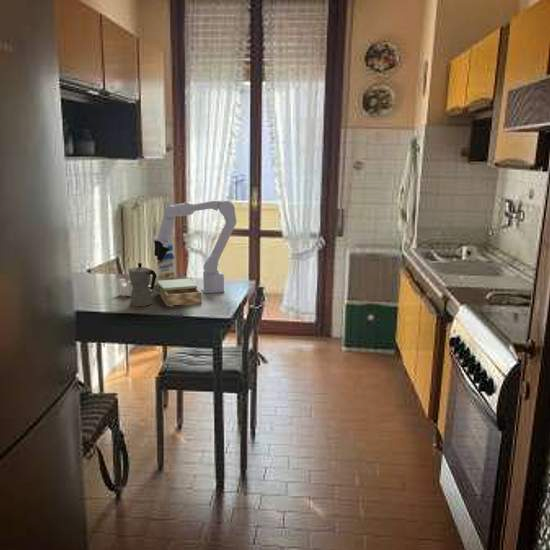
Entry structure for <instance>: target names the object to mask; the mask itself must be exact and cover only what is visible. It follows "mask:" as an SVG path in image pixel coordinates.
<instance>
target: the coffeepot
mask: <svg viewBox="0 0 550 550" xmlns="http://www.w3.org/2000/svg"><path fill="white" fill-rule="evenodd" d="M137 265H138V267H137V266H136V267H133V268H128V269H127V271H128V274H129V281H131V285H132V286H133V290H132V293H131V296H130V302H129V304H130V305H131V306H132V307H136V306H143V307H148V306H147V305H149V306H151V305H152V304H153V299H152V295H151V292H150V290H149V289H152V290H154V286H155V284H156V281H157V275H158V274H157V273H156V271H154V269H153V270H152V269H150V268H148V267H143V263H141V262H139V263H137ZM151 276H152V278H151ZM148 285H150V286H151V287H148ZM148 288H149V289H148ZM150 304H151V305H150Z"/></svg>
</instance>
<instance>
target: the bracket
mask: <svg viewBox="0 0 550 550" xmlns="http://www.w3.org/2000/svg"><path fill="white" fill-rule="evenodd" d="M148 287H151V284H149V285H148ZM118 289H119V296H121V295H122V296H121V297H131V293H132V290H133V286H132V285H131V281H130V280H128V281H127V282H126V278H120V279H118ZM148 289H149V288H148ZM149 290H150V293H151V292H153V289H149Z"/></svg>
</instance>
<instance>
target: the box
mask: <svg viewBox="0 0 550 550" xmlns="http://www.w3.org/2000/svg"><path fill="white" fill-rule="evenodd" d="M160 289H161V290H160V299H161V301H162V300H163V301H162V302H163V303H164V305H165V306H166V305H167V306H169V307H174V306H173V305H181V306H189V305H190V306H191V305H192V306H193V305H200V304H201V305H202V302H203V301H202V300H203V299H202V292H201V291H200V289H198V287H197V288H188V289H175V290H163V289H162V288H161V287H160ZM167 306H166V307H167Z"/></svg>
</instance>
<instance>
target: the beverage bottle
mask: <svg viewBox="0 0 550 550" xmlns="http://www.w3.org/2000/svg"><path fill="white" fill-rule="evenodd" d="M167 247H169V248H170V249H169V251H168V252H167V253H166V254H165V256H164V258H163V260H162V261H160V260H157V263H156V264H157V275H158V277H157V278H158V280H171V279H176V277H175V264H176V263H175V256H174V253H173V249H174V248H173V244H171V243H169V244H168V246H167Z"/></svg>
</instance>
